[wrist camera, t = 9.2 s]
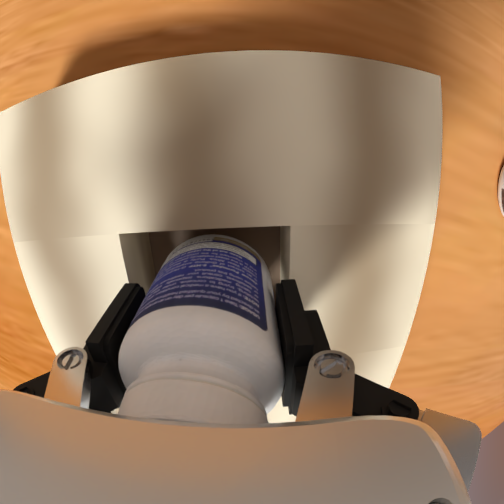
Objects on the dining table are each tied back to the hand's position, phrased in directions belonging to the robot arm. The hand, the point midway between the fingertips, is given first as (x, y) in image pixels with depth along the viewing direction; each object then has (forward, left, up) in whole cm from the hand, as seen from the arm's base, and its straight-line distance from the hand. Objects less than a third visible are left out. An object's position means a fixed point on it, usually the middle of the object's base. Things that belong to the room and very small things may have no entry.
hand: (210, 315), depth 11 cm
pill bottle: (0, 0, -3) cm, 3 cm away
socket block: (0, 0, -5) cm, 5 cm away
